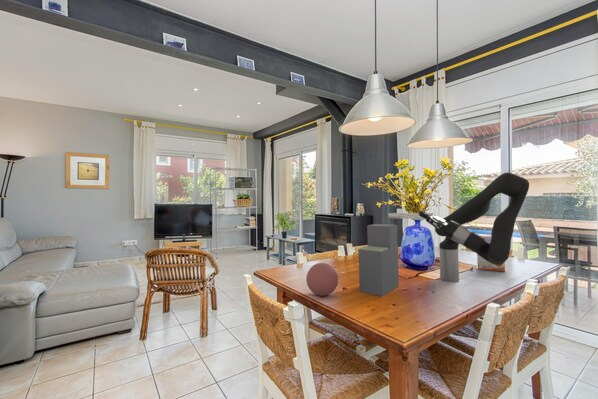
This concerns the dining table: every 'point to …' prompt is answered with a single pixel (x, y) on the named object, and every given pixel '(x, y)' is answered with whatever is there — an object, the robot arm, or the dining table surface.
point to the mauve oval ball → (322, 279)
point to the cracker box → (485, 264)
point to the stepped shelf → (379, 260)
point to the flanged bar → (406, 215)
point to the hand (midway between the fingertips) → (420, 213)
